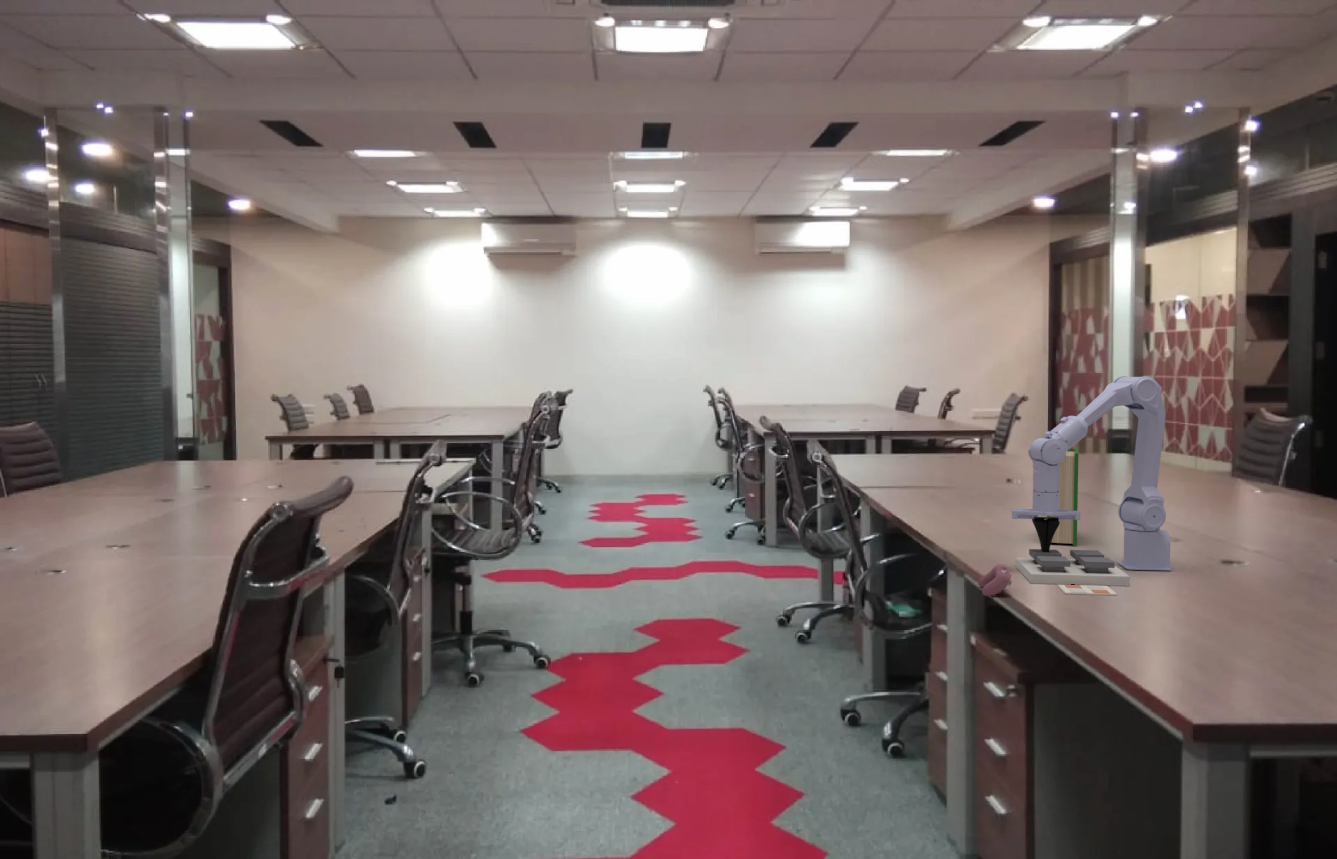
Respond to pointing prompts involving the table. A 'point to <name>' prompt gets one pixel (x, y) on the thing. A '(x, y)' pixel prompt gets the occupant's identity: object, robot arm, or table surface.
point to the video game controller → (995, 580)
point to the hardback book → (1068, 498)
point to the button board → (1071, 575)
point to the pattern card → (1086, 589)
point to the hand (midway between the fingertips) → (1045, 551)
